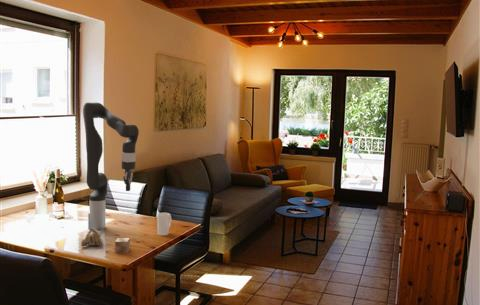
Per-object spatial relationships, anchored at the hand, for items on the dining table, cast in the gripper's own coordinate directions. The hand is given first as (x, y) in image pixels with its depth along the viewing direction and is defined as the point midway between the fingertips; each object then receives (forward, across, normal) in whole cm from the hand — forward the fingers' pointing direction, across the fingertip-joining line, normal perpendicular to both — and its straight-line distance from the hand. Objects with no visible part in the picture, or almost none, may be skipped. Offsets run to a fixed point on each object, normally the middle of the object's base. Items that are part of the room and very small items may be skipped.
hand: (128, 190), depth 255 cm
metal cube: (+20, +25, +4) cm, 33 cm away
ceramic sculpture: (+27, +17, -14) cm, 35 cm away
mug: (+26, -8, +20) cm, 34 cm away
